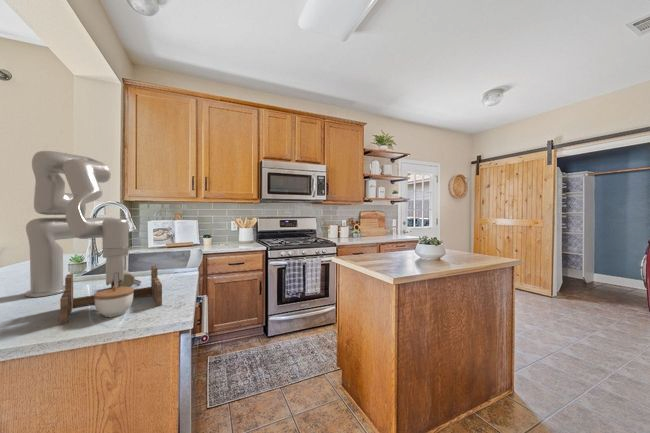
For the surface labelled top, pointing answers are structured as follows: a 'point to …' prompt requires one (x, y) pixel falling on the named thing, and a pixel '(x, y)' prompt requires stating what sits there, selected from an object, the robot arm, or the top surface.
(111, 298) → the lidded jar
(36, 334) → the top surface
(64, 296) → the wooden rack
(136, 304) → the top surface
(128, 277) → the white mug
